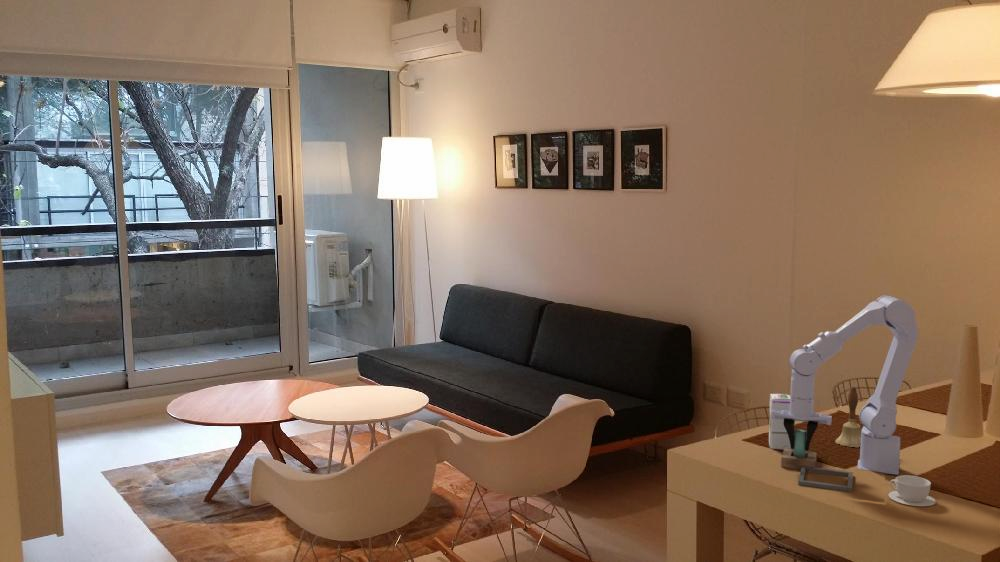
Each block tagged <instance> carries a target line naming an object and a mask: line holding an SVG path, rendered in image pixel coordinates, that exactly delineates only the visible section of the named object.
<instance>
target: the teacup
mask: <svg viewBox="0 0 1000 562" xmlns="http://www.w3.org/2000/svg"><path fill="white" fill-rule="evenodd" d="M893 483H894V484H895V486H896V487H895V486H894V485H893ZM931 485H932V482H931V481H930V480H928V479H926V478H924V477H921V476H918V475H917V476H915V475H908V474H907V475H905V474H904V475H897V476H896V477H895V479H891V480H890V481H889V487H890V489H892V490H893V491H890V492H889V493H888V498H890V499H891V500H892V501H894V502H897V503H900V504H903V505H908V506H914V507H929V506H934V505H935V504H936V503H937V501H936V499H935V498H933V496H931V495H929V494H930V490H931ZM902 499H904V500H902Z"/></svg>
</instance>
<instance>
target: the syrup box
mask: <svg viewBox="0 0 1000 562" xmlns="http://www.w3.org/2000/svg"><path fill="white" fill-rule="evenodd" d="M772 410H788V411H790V394H787V393H770V394H769V417H768V418H769V422H768V426H769V427H768V445H769V449H772V450H784V448H786V449H791V447H790V441H789V437H788V434H787V431H786V429H785V427H784V424H783V423H784V419H771V412H772Z"/></svg>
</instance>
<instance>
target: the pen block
mask: <svg viewBox="0 0 1000 562" xmlns="http://www.w3.org/2000/svg"><path fill="white" fill-rule="evenodd" d="M793 450H794V449H786V448H784V449H783V451H782V455H781V462H780V463H781V464H780V467H781V468H787V469H796V470H801V468H802V466H807V467H815V468H816V465H817V455H818V454H817V453H818V452H817V451H811V450H808V451H806V458H803V457H795V456H793Z"/></svg>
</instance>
